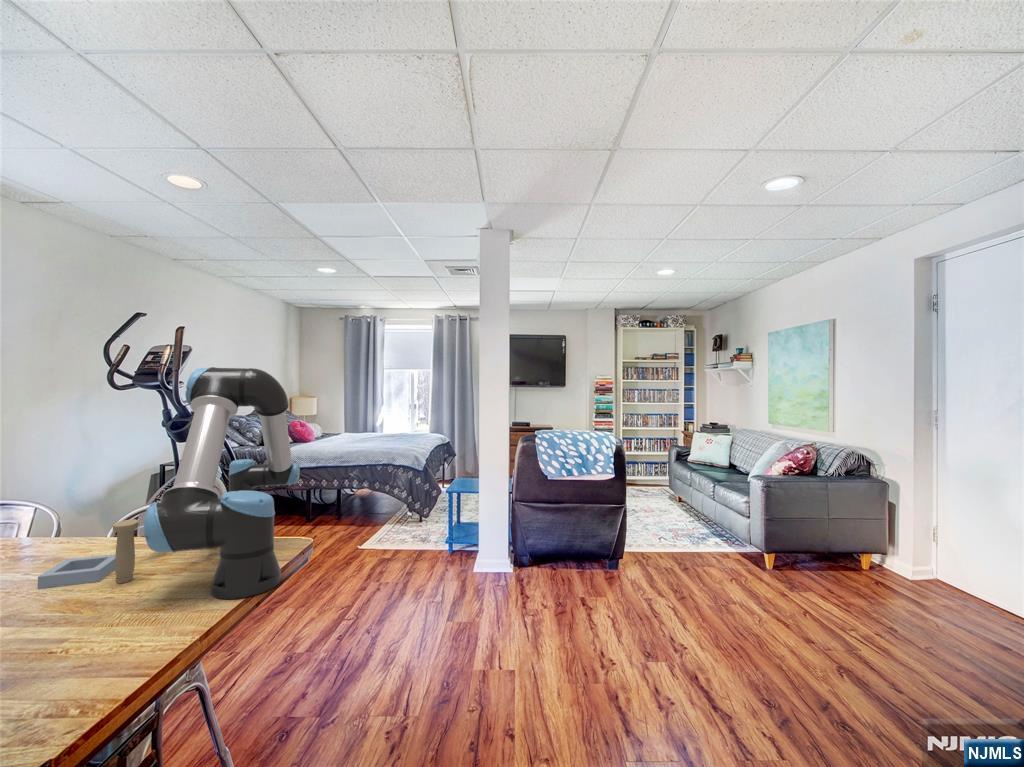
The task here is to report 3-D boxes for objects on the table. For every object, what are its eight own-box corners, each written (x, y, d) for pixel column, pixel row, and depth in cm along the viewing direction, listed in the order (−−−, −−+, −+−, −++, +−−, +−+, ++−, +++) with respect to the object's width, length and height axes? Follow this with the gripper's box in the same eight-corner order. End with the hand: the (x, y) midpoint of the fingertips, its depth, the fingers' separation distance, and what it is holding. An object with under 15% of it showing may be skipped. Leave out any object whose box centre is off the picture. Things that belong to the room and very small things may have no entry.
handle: (109, 588, 109) (111, 527, 109) (114, 579, 114) (115, 521, 115) (135, 583, 112) (136, 524, 112) (138, 574, 117) (139, 518, 117)
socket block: (99, 581, 113) (99, 569, 113) (37, 589, 108) (37, 576, 108) (121, 564, 124) (121, 553, 124) (66, 570, 120) (66, 559, 120)
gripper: (254, 525, 142) (200, 549, 121) (185, 522, 145) (120, 544, 124) (254, 502, 143) (200, 521, 121) (185, 499, 146) (121, 518, 124)
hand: (159, 533), depth 123 cm, fingers open, 13 cm apart
